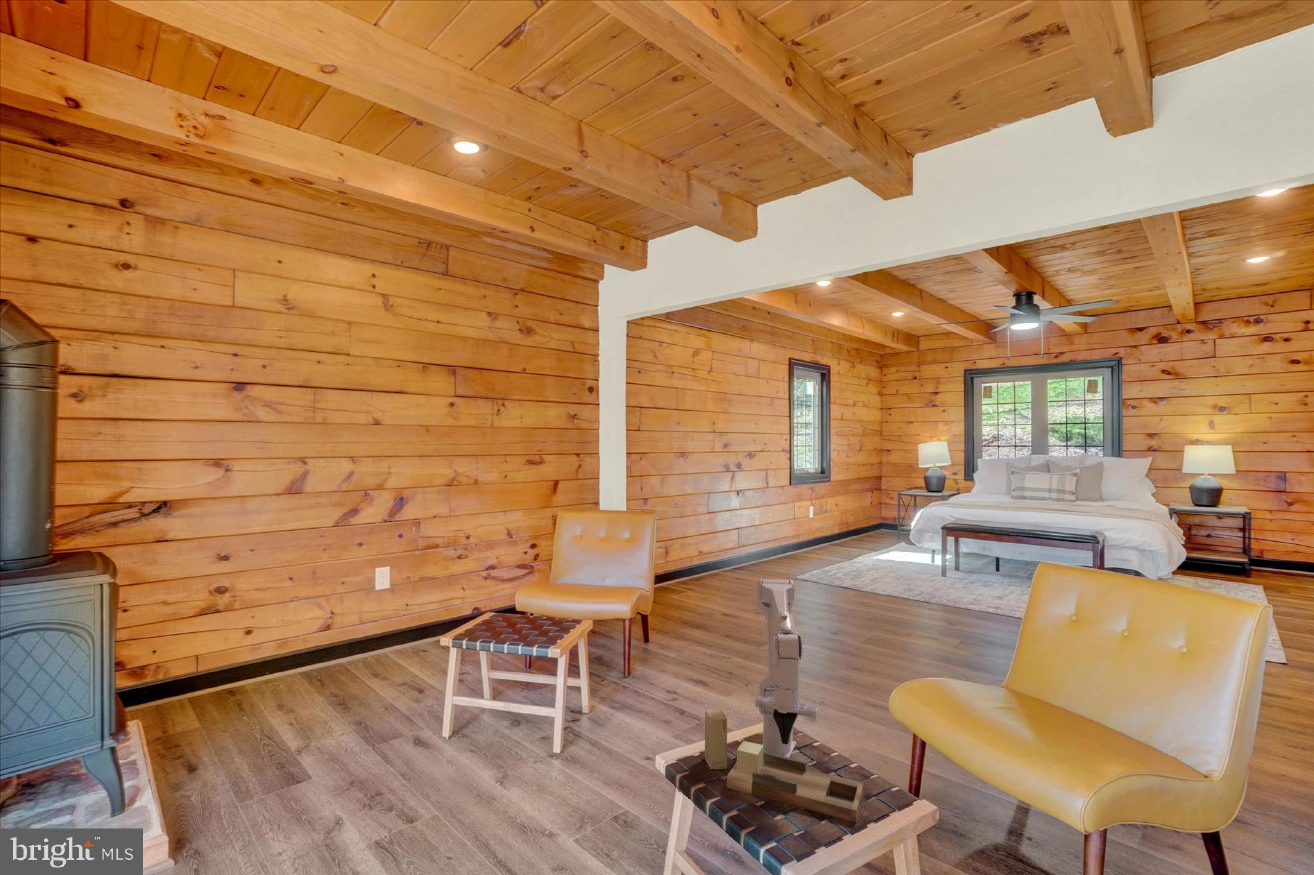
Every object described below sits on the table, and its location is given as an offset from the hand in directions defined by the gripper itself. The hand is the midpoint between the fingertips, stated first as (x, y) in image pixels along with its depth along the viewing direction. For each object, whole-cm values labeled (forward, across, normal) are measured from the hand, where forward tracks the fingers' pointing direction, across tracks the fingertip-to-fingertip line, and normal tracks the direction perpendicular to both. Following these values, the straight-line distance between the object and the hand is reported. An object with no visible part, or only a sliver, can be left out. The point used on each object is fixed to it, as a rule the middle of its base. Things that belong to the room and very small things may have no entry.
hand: (785, 742), depth 145 cm
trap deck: (+9, +3, -3) cm, 10 cm away
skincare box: (+10, -18, 0) cm, 20 cm away
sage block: (+7, -8, -3) cm, 11 cm away
